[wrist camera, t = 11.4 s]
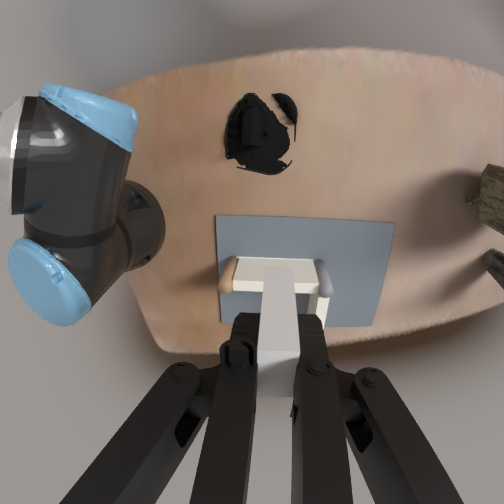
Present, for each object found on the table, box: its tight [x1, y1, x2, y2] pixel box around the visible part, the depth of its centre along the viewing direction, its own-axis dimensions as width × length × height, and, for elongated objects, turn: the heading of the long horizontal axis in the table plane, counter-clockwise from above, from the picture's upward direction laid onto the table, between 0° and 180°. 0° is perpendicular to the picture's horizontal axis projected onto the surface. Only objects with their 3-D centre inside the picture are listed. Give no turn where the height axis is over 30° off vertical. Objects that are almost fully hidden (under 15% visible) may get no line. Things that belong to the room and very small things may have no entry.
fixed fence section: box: [217, 256, 334, 298], centre depth 40 cm, size 16×2×9 cm, turn 90°
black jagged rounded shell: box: [225, 93, 298, 175], centre depth 35 cm, size 12×10×5 cm
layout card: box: [216, 215, 395, 327], centre depth 44 cm, size 28×20×1 cm
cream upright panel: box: [307, 291, 330, 330], centre depth 42 cm, size 11×2×7 cm, turn 179°
